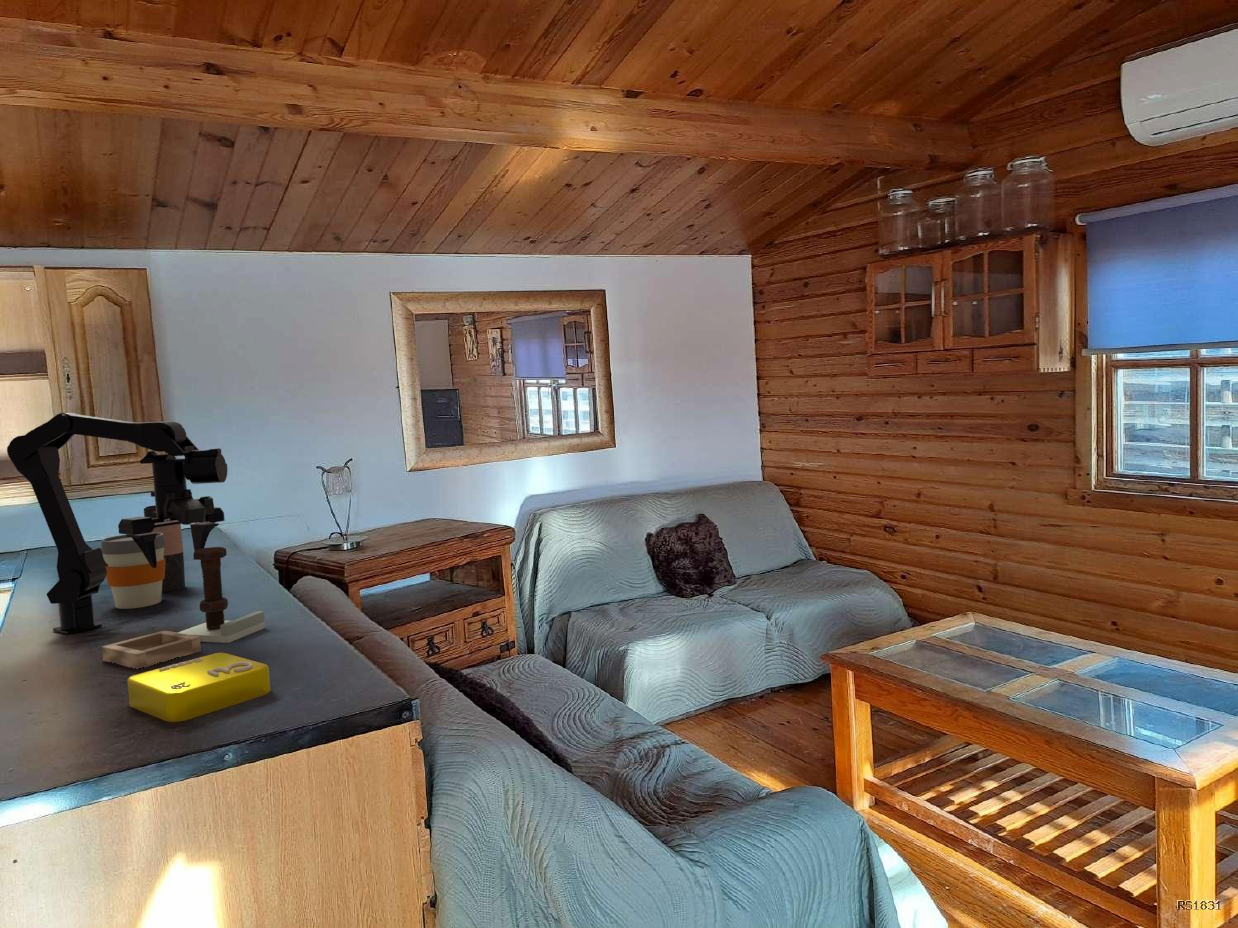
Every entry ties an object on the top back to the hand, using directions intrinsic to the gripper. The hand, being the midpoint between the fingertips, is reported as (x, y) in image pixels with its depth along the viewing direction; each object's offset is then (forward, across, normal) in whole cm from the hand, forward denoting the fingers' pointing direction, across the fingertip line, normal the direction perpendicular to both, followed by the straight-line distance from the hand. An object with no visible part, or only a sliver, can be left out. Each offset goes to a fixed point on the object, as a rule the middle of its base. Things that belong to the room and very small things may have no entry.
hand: (177, 563), depth 173 cm
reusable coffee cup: (+12, +6, +27) cm, 30 cm away
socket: (+12, -16, -18) cm, 27 cm away
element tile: (+13, -25, -47) cm, 55 cm away
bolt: (+11, -3, -16) cm, 19 cm away
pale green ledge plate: (+12, -2, -16) cm, 20 cm away
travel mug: (+12, +18, +36) cm, 42 cm away
